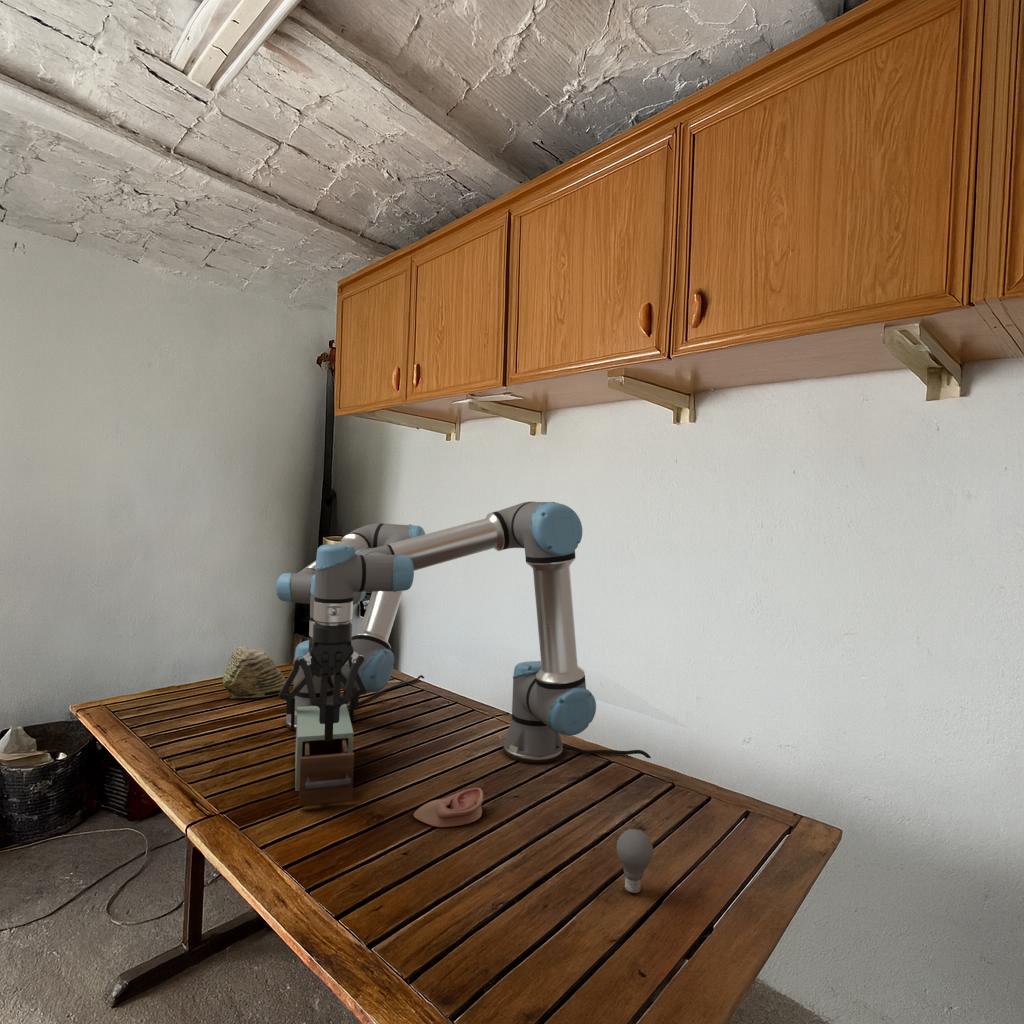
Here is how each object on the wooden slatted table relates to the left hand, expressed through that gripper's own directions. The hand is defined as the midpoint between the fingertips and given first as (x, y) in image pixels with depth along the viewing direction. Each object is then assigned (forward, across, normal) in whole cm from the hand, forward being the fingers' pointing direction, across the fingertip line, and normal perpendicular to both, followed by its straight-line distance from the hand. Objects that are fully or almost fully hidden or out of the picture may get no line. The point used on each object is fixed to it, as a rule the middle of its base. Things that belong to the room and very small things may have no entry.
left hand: (322, 725), depth 153 cm
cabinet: (+8, 0, -7) cm, 10 cm away
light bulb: (+8, +47, -67) cm, 82 cm away
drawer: (+7, 0, -19) cm, 21 cm away
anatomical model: (+8, +24, -34) cm, 42 cm away
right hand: (-7, 0, -28) cm, 28 cm away
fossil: (+8, -18, +53) cm, 57 cm away
